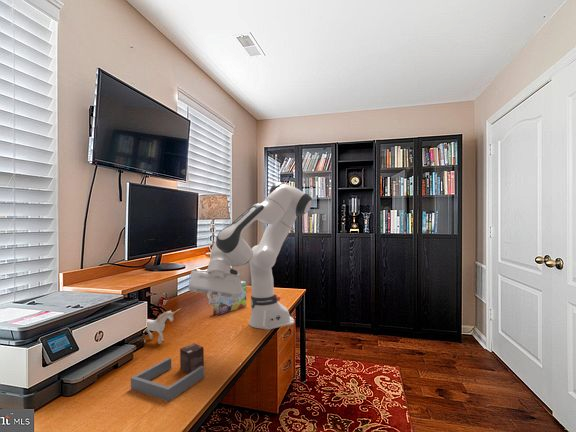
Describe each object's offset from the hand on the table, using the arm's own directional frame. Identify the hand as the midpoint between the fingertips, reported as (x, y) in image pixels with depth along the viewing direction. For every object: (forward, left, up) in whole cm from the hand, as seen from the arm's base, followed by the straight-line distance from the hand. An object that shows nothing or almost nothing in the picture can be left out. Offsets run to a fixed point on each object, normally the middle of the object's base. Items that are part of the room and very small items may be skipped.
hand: (212, 304), depth 116 cm
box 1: (+15, +11, -21) cm, 28 cm away
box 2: (+8, +4, -21) cm, 23 cm away
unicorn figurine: (+21, -29, -21) cm, 42 cm away
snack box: (-15, -61, -21) cm, 67 cm away
